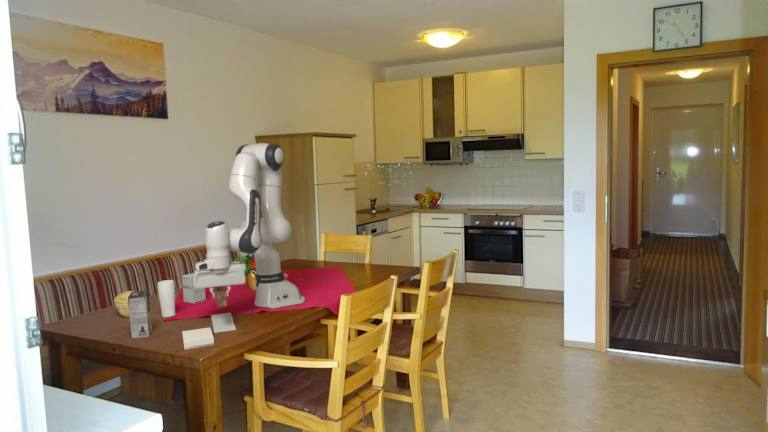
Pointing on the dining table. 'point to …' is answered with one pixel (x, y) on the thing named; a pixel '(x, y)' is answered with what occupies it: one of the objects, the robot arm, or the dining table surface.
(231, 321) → the mat
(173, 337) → the dining table surface
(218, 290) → the stick
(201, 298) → the supplement box
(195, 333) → the tile
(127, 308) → the sculpture
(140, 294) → the coffee box
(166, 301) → the drinking glass
